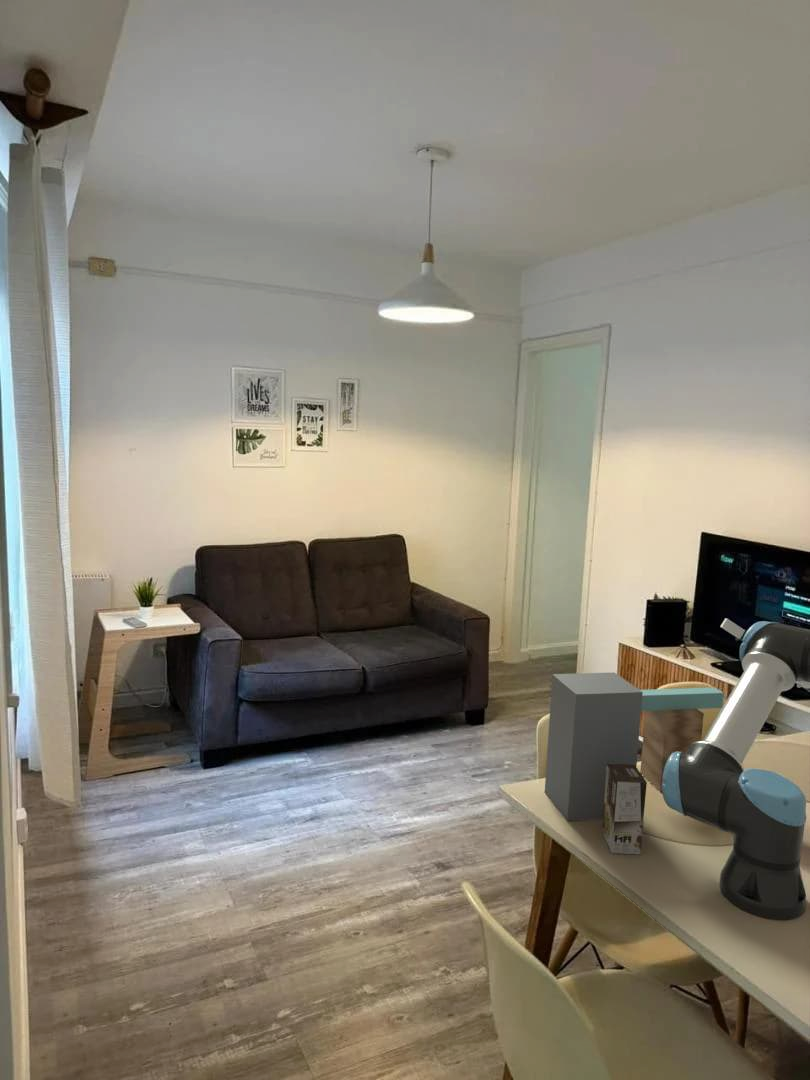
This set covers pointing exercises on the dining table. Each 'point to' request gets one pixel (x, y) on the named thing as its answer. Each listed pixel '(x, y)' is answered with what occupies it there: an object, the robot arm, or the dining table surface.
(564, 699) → the tall stand
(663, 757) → the walnut pedestal
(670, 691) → the teal bar
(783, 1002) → the dining table surface
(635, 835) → the coffee box
